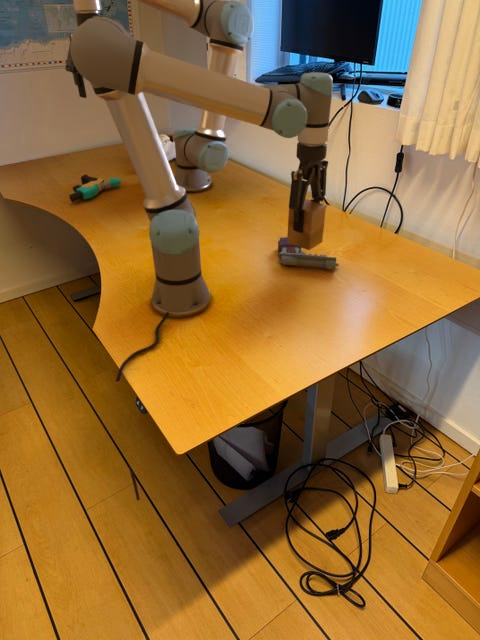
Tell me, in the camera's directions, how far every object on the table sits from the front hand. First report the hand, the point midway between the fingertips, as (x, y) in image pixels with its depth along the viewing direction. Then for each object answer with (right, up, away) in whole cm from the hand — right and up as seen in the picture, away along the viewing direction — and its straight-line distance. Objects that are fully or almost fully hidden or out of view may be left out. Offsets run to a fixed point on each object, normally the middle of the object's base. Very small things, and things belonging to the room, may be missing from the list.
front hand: (305, 226), depth 133 cm
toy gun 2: (+2, -8, +11) cm, 13 cm away
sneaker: (-56, +45, +85) cm, 111 cm away
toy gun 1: (-79, +24, +57) cm, 100 cm away
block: (0, -4, +3) cm, 5 cm away
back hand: (-61, +44, +14) cm, 76 cm away
